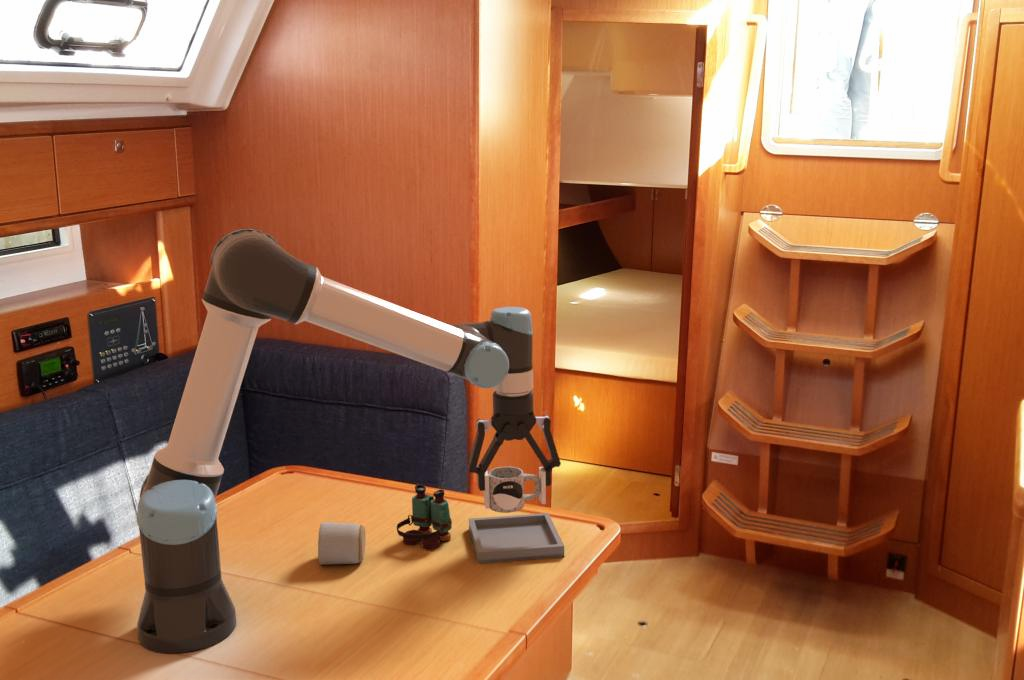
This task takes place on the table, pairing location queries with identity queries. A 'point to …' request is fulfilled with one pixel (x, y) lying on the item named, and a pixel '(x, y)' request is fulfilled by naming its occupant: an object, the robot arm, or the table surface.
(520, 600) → the table surface
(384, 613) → the table surface
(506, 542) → the tray
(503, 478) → the mug
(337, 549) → the ceramic mug
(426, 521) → the binoculars
